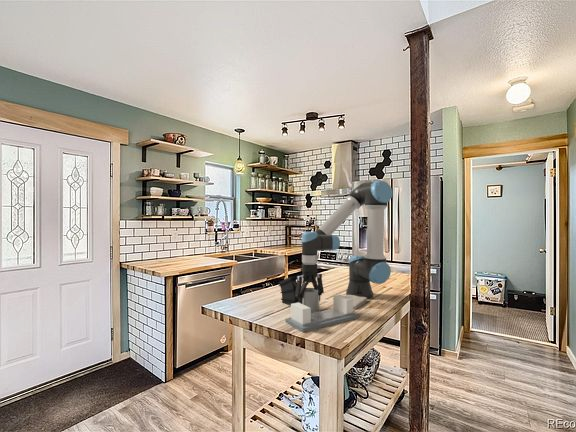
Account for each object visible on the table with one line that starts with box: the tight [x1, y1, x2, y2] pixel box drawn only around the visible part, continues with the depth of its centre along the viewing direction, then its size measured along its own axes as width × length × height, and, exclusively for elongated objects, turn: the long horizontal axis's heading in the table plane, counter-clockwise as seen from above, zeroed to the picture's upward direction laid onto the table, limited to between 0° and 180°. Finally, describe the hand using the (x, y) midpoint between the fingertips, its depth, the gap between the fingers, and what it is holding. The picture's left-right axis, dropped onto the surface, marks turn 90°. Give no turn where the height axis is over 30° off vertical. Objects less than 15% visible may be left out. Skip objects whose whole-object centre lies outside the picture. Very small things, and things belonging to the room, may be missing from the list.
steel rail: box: [290, 308, 354, 326], centre depth 133 cm, size 28×9×1 cm, turn 122°
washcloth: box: [344, 294, 368, 310], centre depth 158 cm, size 12×18×3 cm, turn 146°
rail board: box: [285, 312, 360, 333], centre depth 133 cm, size 31×13×2 cm, turn 122°
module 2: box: [332, 294, 354, 314], centre depth 140 cm, size 4×9×6 cm, turn 32°
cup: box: [303, 287, 319, 313], centre depth 147 cm, size 8×8×10 cm
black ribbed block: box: [278, 275, 299, 307], centre depth 156 cm, size 4×13×15 cm, turn 40°
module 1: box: [290, 302, 311, 324], centre depth 127 cm, size 4×9×6 cm, turn 32°
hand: (309, 309), depth 147 cm, fingers closed on cup, 8 cm apart
